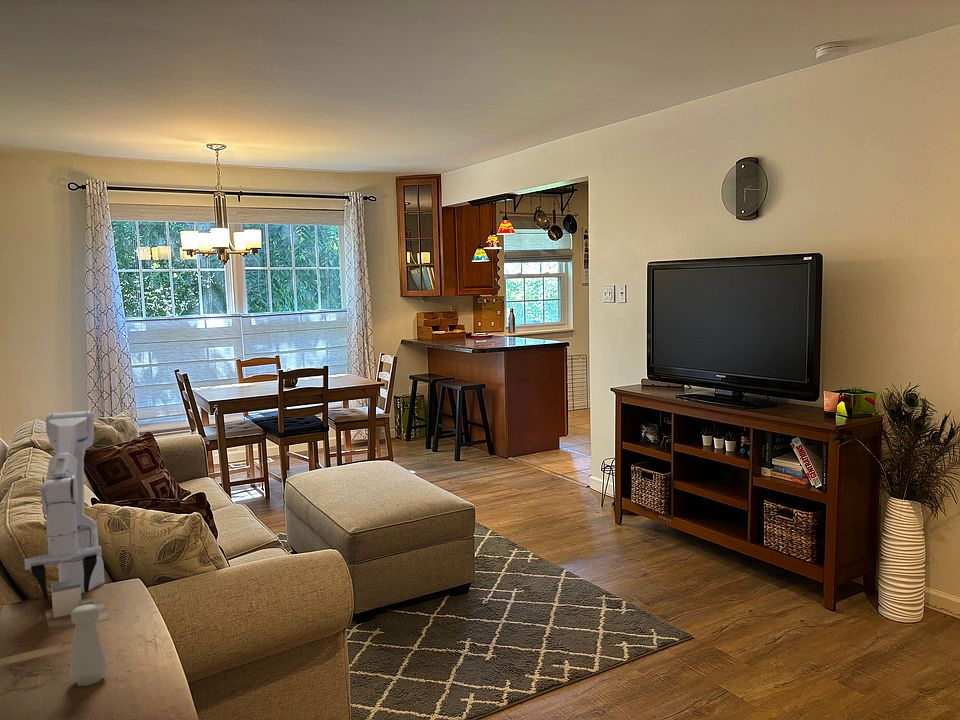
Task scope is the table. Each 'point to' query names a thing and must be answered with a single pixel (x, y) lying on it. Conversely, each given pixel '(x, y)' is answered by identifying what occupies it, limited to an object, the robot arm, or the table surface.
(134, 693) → the table surface
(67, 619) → the stand
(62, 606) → the matte gray cube
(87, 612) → the salt shaker
